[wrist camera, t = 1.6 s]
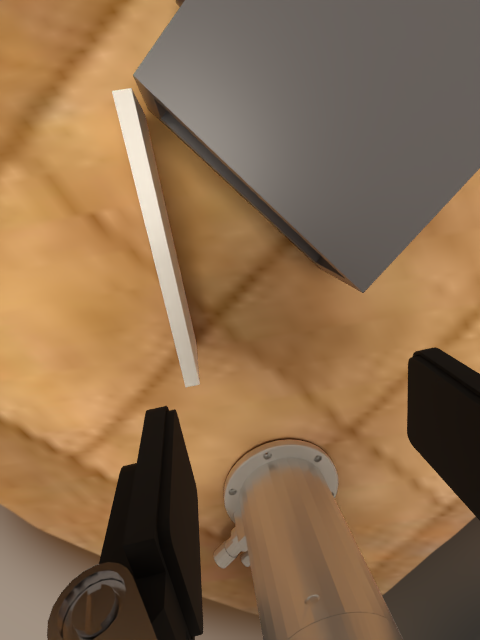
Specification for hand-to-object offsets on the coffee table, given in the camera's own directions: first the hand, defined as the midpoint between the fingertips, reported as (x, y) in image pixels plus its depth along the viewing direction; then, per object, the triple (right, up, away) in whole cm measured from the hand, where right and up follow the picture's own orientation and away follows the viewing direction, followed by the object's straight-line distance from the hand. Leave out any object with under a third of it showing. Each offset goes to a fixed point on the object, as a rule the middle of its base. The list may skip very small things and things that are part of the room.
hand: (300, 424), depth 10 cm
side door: (-7, +9, +18) cm, 22 cm away
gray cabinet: (+4, +19, +17) cm, 26 cm away
